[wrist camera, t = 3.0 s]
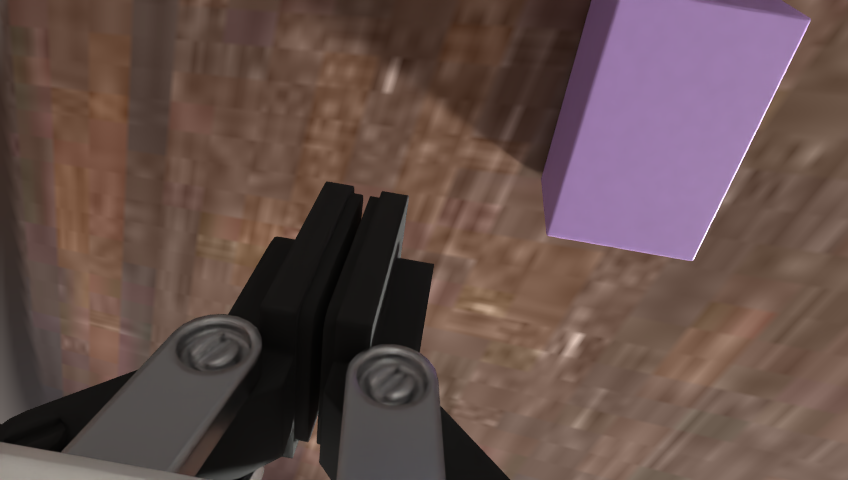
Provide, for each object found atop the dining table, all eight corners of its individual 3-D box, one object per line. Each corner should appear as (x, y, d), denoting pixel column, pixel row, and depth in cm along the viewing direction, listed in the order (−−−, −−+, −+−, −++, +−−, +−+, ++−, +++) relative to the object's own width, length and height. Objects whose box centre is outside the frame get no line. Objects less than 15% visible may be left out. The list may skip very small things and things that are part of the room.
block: (602, -41, 19) (621, -14, 16) (760, -14, 19) (813, 18, 16) (540, 179, 24) (545, 236, 20) (667, 201, 23) (693, 262, 20)
